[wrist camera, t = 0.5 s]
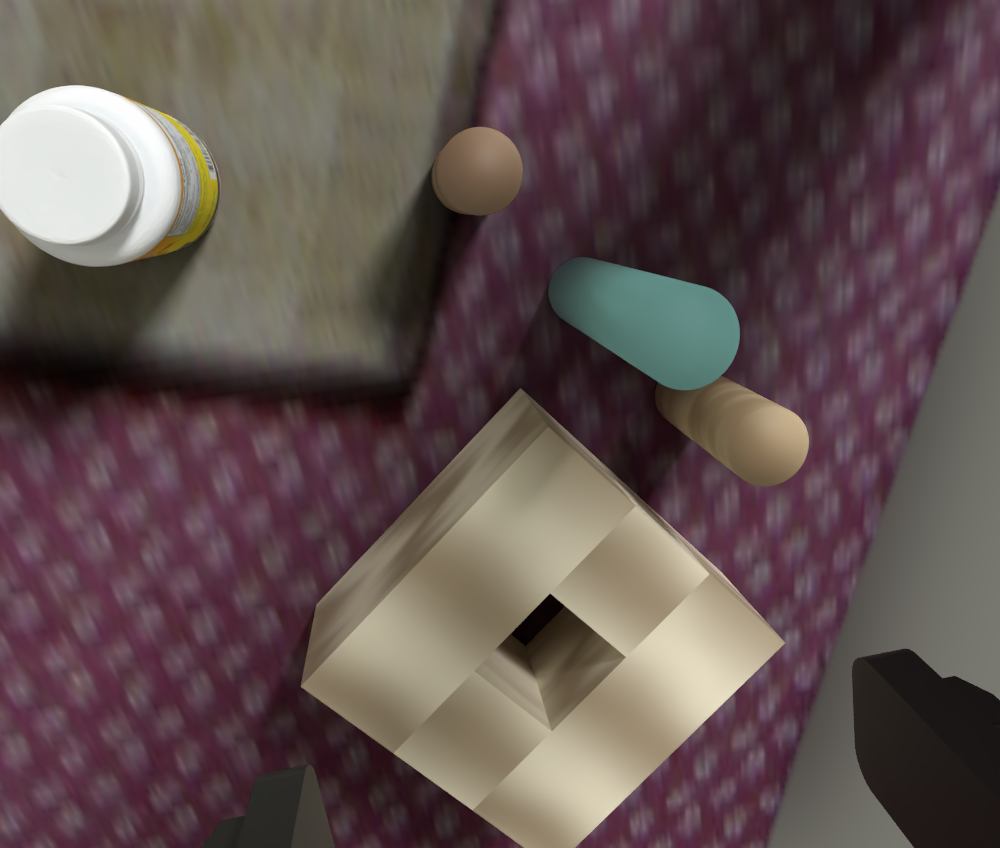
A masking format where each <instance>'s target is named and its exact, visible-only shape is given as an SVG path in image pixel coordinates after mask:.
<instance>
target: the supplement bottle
mask: <svg viewBox="0 0 1000 848" xmlns="http://www.w3.org/2000/svg"><path fill="white" fill-rule="evenodd" d="M220 192H221V188H220V177H219V173H218V169H217V166H216V163H215V161H214V158H213V156H212V154H211V152H210V151H209V149H208V148H207V146H206V145H205V143H204V142H203V141H202V140H201V138H200V137H199V136H198V135H197V134H196V133H195V132H194V131H192V130H191V129H190V128H189V127H188V126H186V125H185V124H183V123H182V122H180V121H178V120H177V119H175V118H173V117H171V116H169V115H166V114H164V113H162V112H159V111H157V110H155V109H152V108H150V107H147V106H145V105H143V104H140V103H138V102H136V101H133V100H131V99H128V98H126V97H123V96H121V95H118V94H115V93H112V92H109V91H106V90H103V89H99V88H94V87H89V86H75V85H72V86H62V87H57V88H52V89H48V90H46V91H43V92H40V93H38V94H36V95H34V96H32V97H30V98H29V99H27V100H26V101H24V102H23V103H22V104H21V105H19V106H18V107H17V108H16V109H15V110H14V111H13V112H12V113H11V114H10V116H9V117H8V119H7V120H6V121H4V122H3V123H2V125H1V126H0V209H1V211H2V212H3V213H4V214H5V216H6V217H7V218H8V219H9V220H10V221H11V222H12V223H13V224H14V225H15V226H16V227H17V229H18V230H19V231H20V232H21V233H22V234H23V235H24V236H25V237H26V238H27V239H28V240H29V241H30V242H32V243H33V244H34V245H36V246H37V247H38V248H40V249H42V250H43V251H45V252H46V253H48V254H50V255H52V256H54V257H56V258H58V259H61V260H63V261H66V262H70V263H73V264H77V265H83V266H93V267H101V266H113V265H119V264H123V263H128V262H132V261H136V260H141V259H145V258H150V257H154V256H159V255H163V254H168V253H171V252H174V251H177V250H180V249H182V248H185V247H187V246H189V245H190V244H192V243H193V242H195V241H196V240H198V239H199V238H200V237H201V236H202V235H203V234H204V233H205V232H206V230H207V229H208V228H209V226H210V225H211V223H212V222H213V220H214V218H215V215H216V213H217V210H218V207H219V202H220Z"/></svg>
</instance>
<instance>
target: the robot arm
mask: <svg viewBox="0 0 1000 848" xmlns="http://www.w3.org/2000/svg"><path fill="white" fill-rule="evenodd" d="M852 682H853V706H854V732H855V749H856V755H857V759H858V763H859V766H860V769H861V772H862V774H863V776H864V779H865V781H866V783H867V785H868V786H869V788H870V790H871V791H872V793H873V794H874V795H875V797H876V798H877V799H878V801H879V802H880V803H881V804H882V806H883V807H884V809H885V810H886V811H887V812H888V814H889V815H890V816H891V818H892V819H893V820H894V822H895V823H896V824H897V826H898V827H899V828H900V830H901V831H902V832H903V833H904V835H905V836H906V838H907V839H908V840H909V841H910V843H911V844H912V845H913V847H914V848H1000V700H999V699H998V698H996V697H995V696H994V695H993V694H991V693H989V692H987V691H985V690H983V689H981V688H979V687H977V686H975V685H973V684H971V683H968V682H967V681H964V680H962V679H960V678H958V677H956V676H952V677H947V678H941V677H940V676H939V675H938V674H937V673H936V672H935V671H934V670H933V669H932V668H931V667H930V666H928V665H927V664H926V663H925V662H924V661H923V660H922V659H921V658H920V657H919V656H918V655H917V654H915V653H914V652H913V651H911V650H910V649H901V650H896V651H891V652H886V653H881V654H876V655H871V656H865V657H860V658H857V659H856V660H855V661H854V663H853V667H852ZM201 848H335V846H334V842H333V838H332V834H331V830H330V826H329V823H328V819H327V815H326V811H325V807H324V803H323V800H322V796H321V792H320V788H319V784H318V781H317V777H316V774H315V771H314V769H313V767H312V766H311V765H310V764H309V765H304V766H299V767H294V768H289V769H284V770H279V771H274V772H269V773H264V774H259V775H258V776H257V777H256V779H255V782H254V785H253V789H252V793H251V796H250V800H249V804H248V807H247V811H246V815H245V816H241V817H236V818H231V819H226V820H222V821H221V823H220V824H219V825H218V827H217V828H216V829H215V831H214V832H213V833H212V834H211V836H210V837H209V838H208V840H207V841H206V842H205V844H204V845H203V846H202V847H201Z"/></svg>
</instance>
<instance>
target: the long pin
mask: <svg viewBox="0 0 1000 848" xmlns="http://www.w3.org/2000/svg"><path fill="white" fill-rule="evenodd" d="M548 294H549V301H550V304H551V306H552V308H553V310H554V311H555V313H556V314H557V315H558V316H559V317H560V318H561V319H563V320H564V321H566V322H567V323H569V324H570V325H572V326H573V327H575V328H576V329H578V330H579V331H581V332H583V333H584V334H586V335H587V336H589V337H590V338H592V339H593V340H595V341H596V342H598V343H599V344H601V345H602V346H604V347H605V348H607V349H608V350H610V351H612V352H613V353H615V354H616V355H618V356H619V357H621V358H622V359H624V360H625V361H627V362H628V363H630V364H631V365H633V366H634V367H636V368H638V369H639V370H641V371H642V372H644V373H645V374H647V375H648V376H650V377H651V378H653V379H654V380H656V381H657V382H659V383H661V384H662V385H664V386H666V387H669V388H672V389H677V390H693V389H698V388H701V387H704V386H706V385H708V384H710V383H712V382H714V381H715V380H716V379H718V378H719V377H720V376H721V375H722V374H723V373H724V372H725V371H726V370H727V369H728V367H729V366H730V365H731V363H732V361H733V359H734V357H735V355H736V352H737V350H738V346H739V340H740V327H739V322H738V318H737V315H736V313H735V311H734V309H733V307H732V305H731V304H730V303H729V302H728V300H727V299H726V298H725V297H724V296H722V295H721V294H720V293H718V292H717V291H715V290H713V289H711V288H708V287H705V286H701V285H697V284H693V283H689V282H685V281H681V280H677V279H673V278H669V277H665V276H661V275H657V274H653V273H649V272H645V271H641V270H637V269H633V268H629V267H625V266H621V265H617V264H613V263H609V262H605V261H601V260H597V259H593V258H589V257H576V258H573V259H570V260H568V261H566V262H564V263H563V264H562V265H560V266H559V267H558V268H557V270H556V271H555V272H554V274H553V276H552V278H551V280H550V283H549V290H548Z"/></svg>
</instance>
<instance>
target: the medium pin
mask: <svg viewBox="0 0 1000 848" xmlns="http://www.w3.org/2000/svg"><path fill="white" fill-rule="evenodd" d="M655 404H656V407H657V409H658V411H659V413H660V414H661V415H662V417H663V418H665V419H666V420H667V421H668V422H670V423H671V424H672V425H673V426H675V427H676V428H677V429H679V430H680V431H681V432H682V433H684V434H685V435H686V436H688V437H689V438H690V439H691V440H693V441H694V442H695V443H697V444H698V445H699V446H701V447H702V448H703V449H704V450H706V451H707V452H708V453H710V454H711V455H712V456H713V457H715V458H716V459H717V460H719V461H720V462H721V463H722V464H724V465H725V466H726V467H728V468H729V469H730V470H731V471H733V472H734V473H735V474H737V475H738V476H739V477H740V478H742V479H743V480H745V481H746V482H748V483H750V484H752V485H756V486H773V485H777V484H780V483H782V482H784V481H786V480H788V479H789V478H790V477H792V476H793V475H794V474H795V473H796V472H797V471H798V470H799V469H800V467H801V466H802V464H803V462H804V460H805V458H806V456H807V452H808V446H809V438H808V432H807V429H806V427H805V425H804V423H803V421H802V420H801V419H800V418H799V417H798V416H797V415H796V414H795V413H793V412H792V411H790V410H788V409H786V408H784V407H782V406H780V405H778V404H776V403H774V402H772V401H770V400H768V399H766V398H764V397H762V396H760V395H758V394H756V393H754V392H752V391H751V390H749V389H747V388H745V387H743V386H741V385H739V384H737V383H735V382H733V381H731V380H729V379H727V378H725V377H723V376H720V377H719V378H718V379H716V380H715V381H714V382H712V383H710V384H708V385H706V386H704V387H701V388H698V389H693V390H677V389H672V388H669V387H666V386H664V385H662V384H661V383H659V382H658V383H657V386H656V389H655Z"/></svg>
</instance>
